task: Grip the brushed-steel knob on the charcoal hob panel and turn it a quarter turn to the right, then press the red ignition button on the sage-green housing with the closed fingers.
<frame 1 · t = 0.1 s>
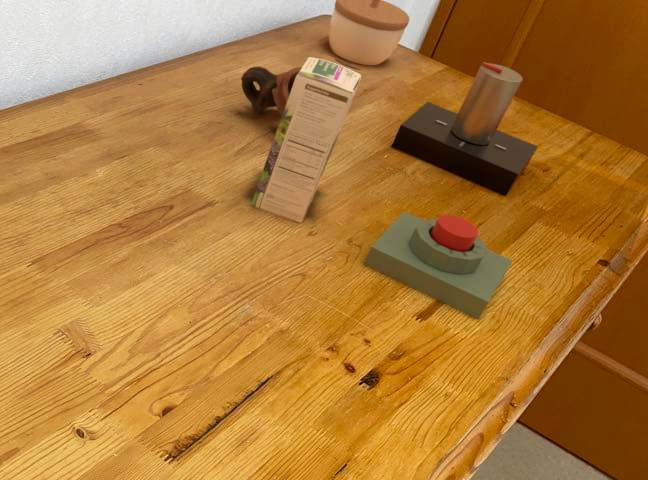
trinket box: (352, 62, 127), on the table
ignition button: (454, 233, 83), point 5 cm above the table, slide at 0.2 cm
pottery mug: (277, 126, 105), on the table
hob panel: (459, 157, 108), on the table
syrup box: (281, 206, 91), on the table
igniter: (433, 271, 86), on the table
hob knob: (486, 103, 103), point 7 cm above the table, hinge at 0.0°
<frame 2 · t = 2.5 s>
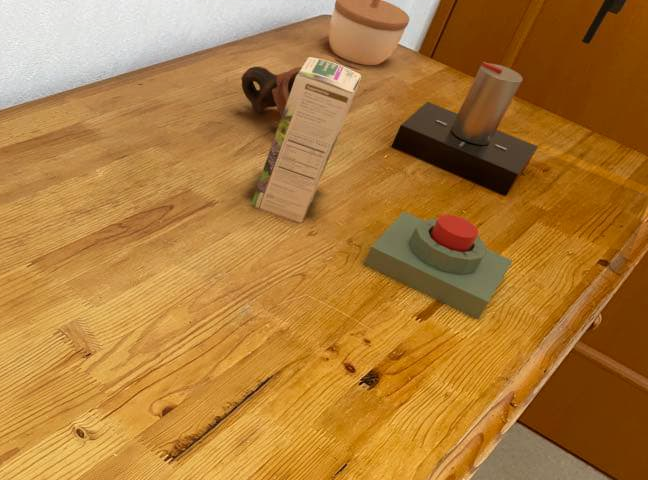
hand: (527, 18, 96), 17 cm above the table, tool pointing down, fingers open, 13 cm apart
nothing on the table moved.
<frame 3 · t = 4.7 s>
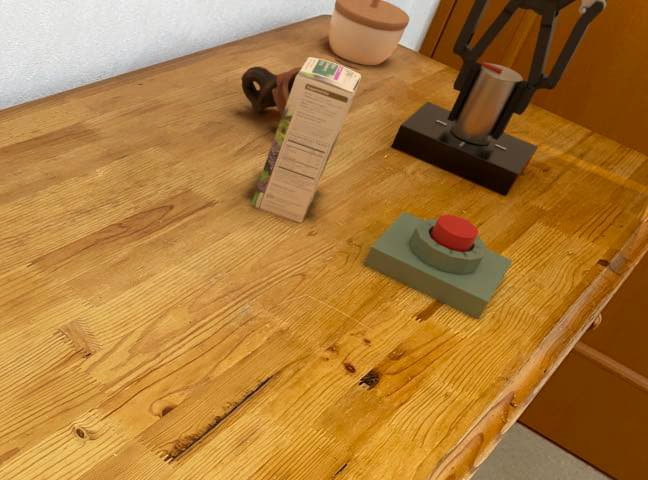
hand: (474, 126, 105), 4 cm above the table, tool pointing down, fingers closed on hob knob, 5 cm apart
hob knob: (486, 103, 103), point 7 cm above the table, hinge at 0.0°, touching gripper
everything else where it was.
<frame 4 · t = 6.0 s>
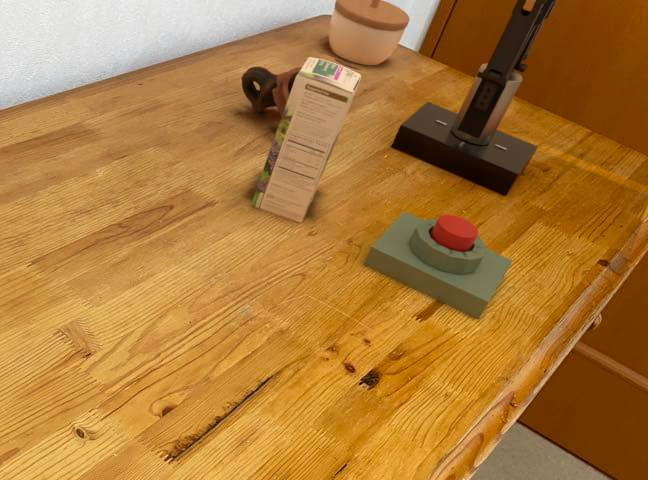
hand: (474, 126, 105), 4 cm above the table, tool pointing down, fingers closed on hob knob, 5 cm apart
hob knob: (486, 103, 103), point 7 cm above the table, hinge at -89.2°, touching gripper
everything else where it was.
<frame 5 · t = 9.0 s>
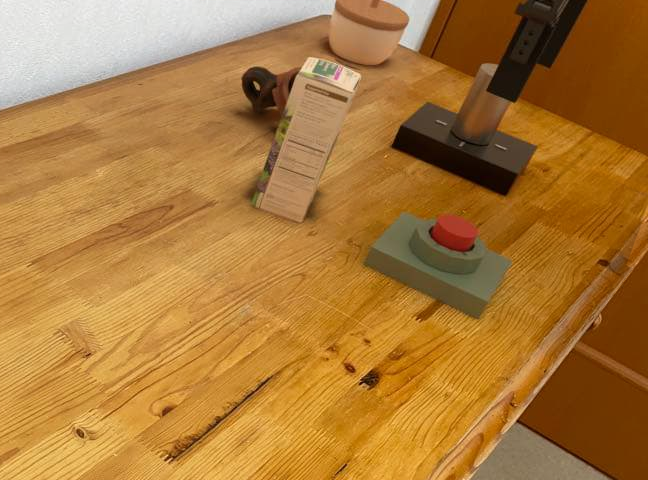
hand: (520, 78, 79), 18 cm above the table, tool pointing down, fingers open, 13 cm apart
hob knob: (486, 103, 103), point 7 cm above the table, hinge at -89.1°
everything else where it was.
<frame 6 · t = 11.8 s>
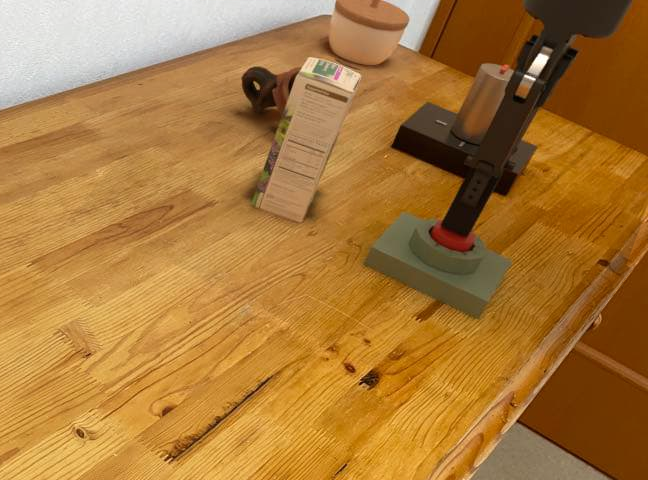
hand: (455, 228, 82), 5 cm above the table, tool pointing down, fingers closed
ignition button: (451, 238, 83), point 4 cm above the table, slide at -0.4 cm, touching gripper
everything else where it was.
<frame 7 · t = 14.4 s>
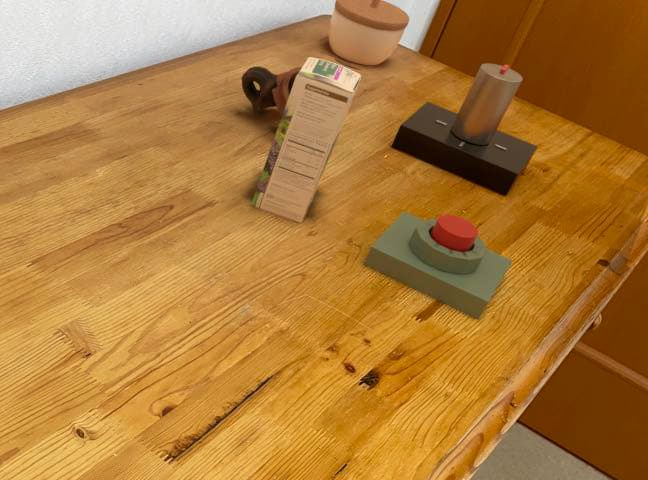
ignition button: (454, 233, 83), point 5 cm above the table, slide at 0.1 cm
everything else where it was.
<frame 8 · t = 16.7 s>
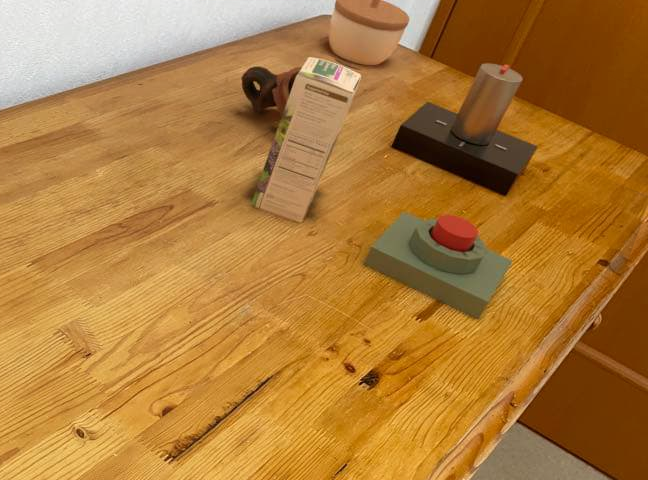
nothing on the table moved.
at the end: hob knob at -89° (first picture: +0°); ignition button pushed in 1.0 cm at the most during the clip, back to where it started at the end; ignition button slide at 0.1 cm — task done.
